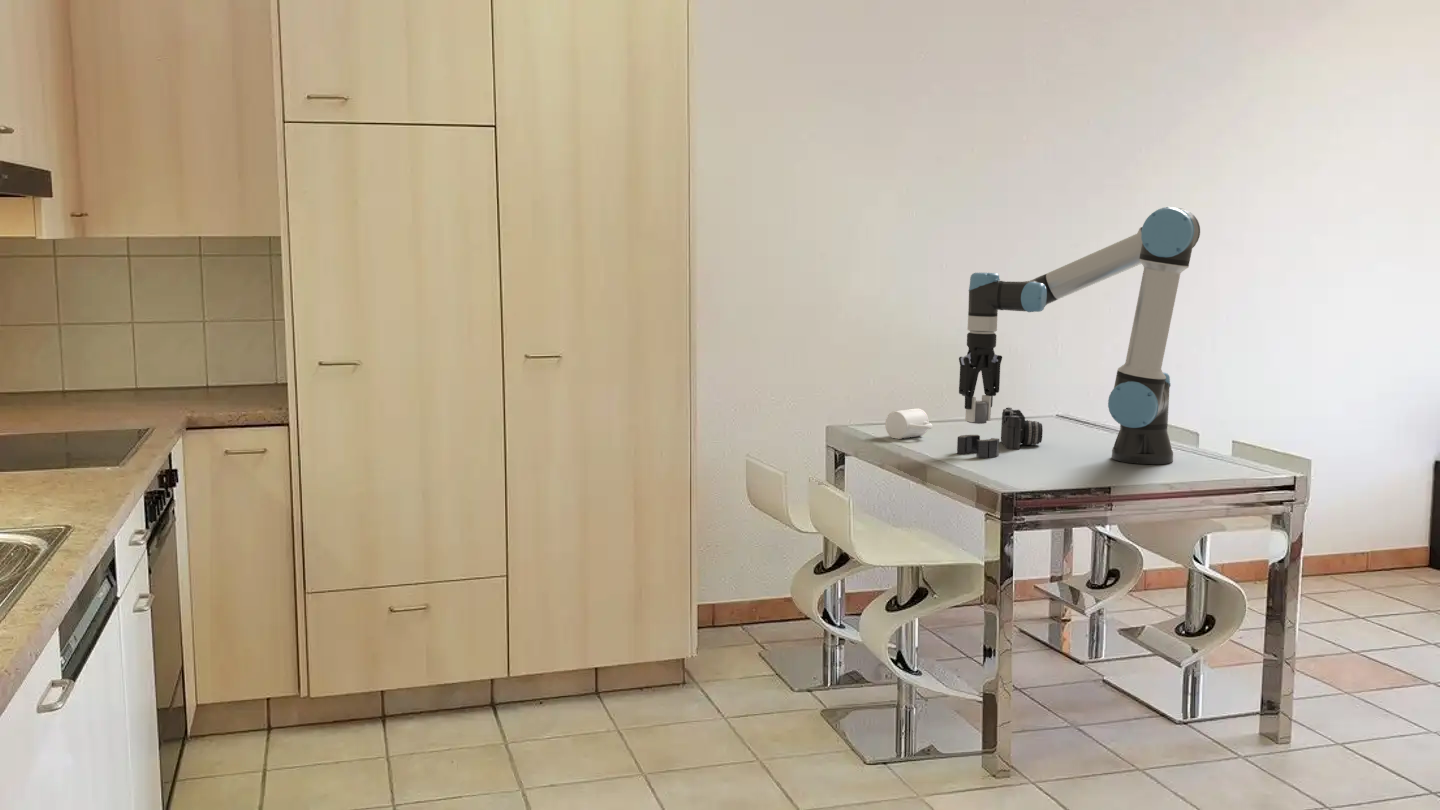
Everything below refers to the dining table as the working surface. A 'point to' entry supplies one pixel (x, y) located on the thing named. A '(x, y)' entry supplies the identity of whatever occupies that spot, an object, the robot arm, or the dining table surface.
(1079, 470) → the dining table surface
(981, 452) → the clustered grey blocks
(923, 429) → the mug
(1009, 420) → the camera
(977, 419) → the grey cylinder block
